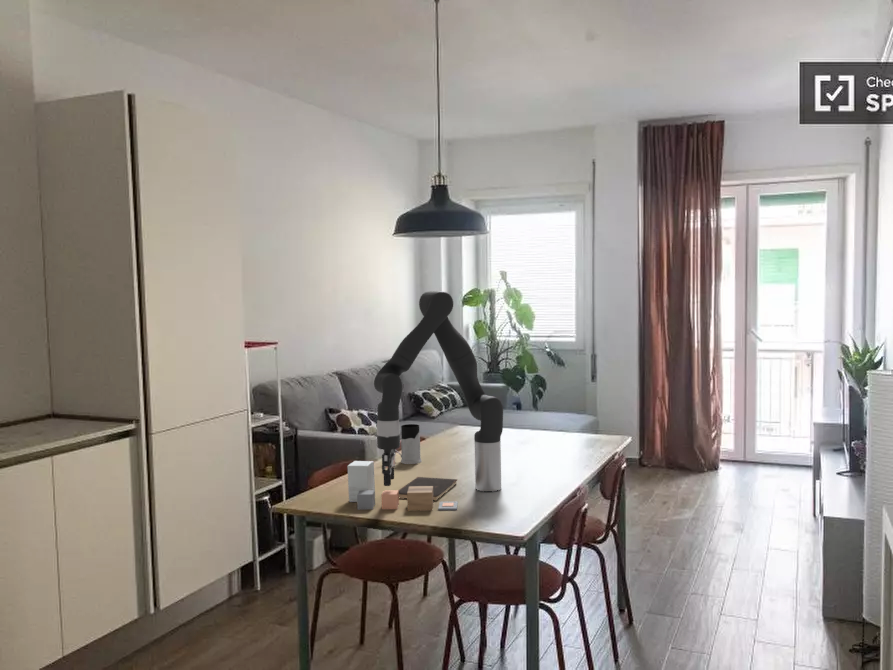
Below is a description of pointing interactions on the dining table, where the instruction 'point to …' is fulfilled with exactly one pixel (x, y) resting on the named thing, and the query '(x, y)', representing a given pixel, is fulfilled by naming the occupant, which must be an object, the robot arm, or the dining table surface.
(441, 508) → the card
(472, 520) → the dining table surface
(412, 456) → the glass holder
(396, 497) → the terracotta block
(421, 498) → the walnut base block
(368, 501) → the grey cube
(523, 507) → the dining table surface
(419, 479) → the hardcover book
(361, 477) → the supplement box
